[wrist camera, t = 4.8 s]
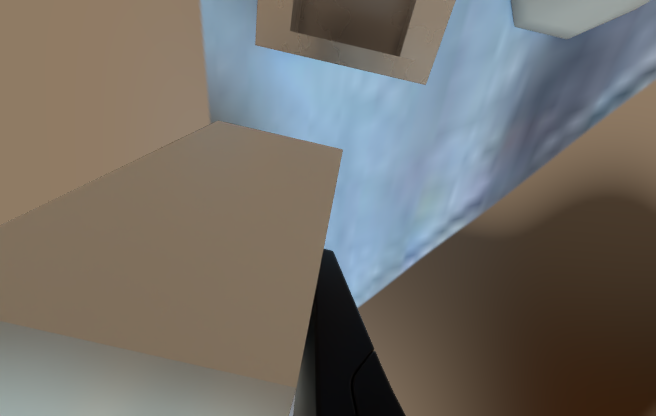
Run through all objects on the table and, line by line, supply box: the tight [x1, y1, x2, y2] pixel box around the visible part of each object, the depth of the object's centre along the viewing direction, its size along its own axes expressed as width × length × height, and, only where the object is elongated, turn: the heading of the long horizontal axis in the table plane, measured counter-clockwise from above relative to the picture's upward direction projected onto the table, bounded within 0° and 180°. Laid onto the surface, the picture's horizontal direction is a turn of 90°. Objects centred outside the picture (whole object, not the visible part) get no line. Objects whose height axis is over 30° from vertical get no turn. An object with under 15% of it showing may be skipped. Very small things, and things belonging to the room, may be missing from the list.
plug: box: [0, 121, 343, 416], centre depth 7 cm, size 6×4×7 cm
